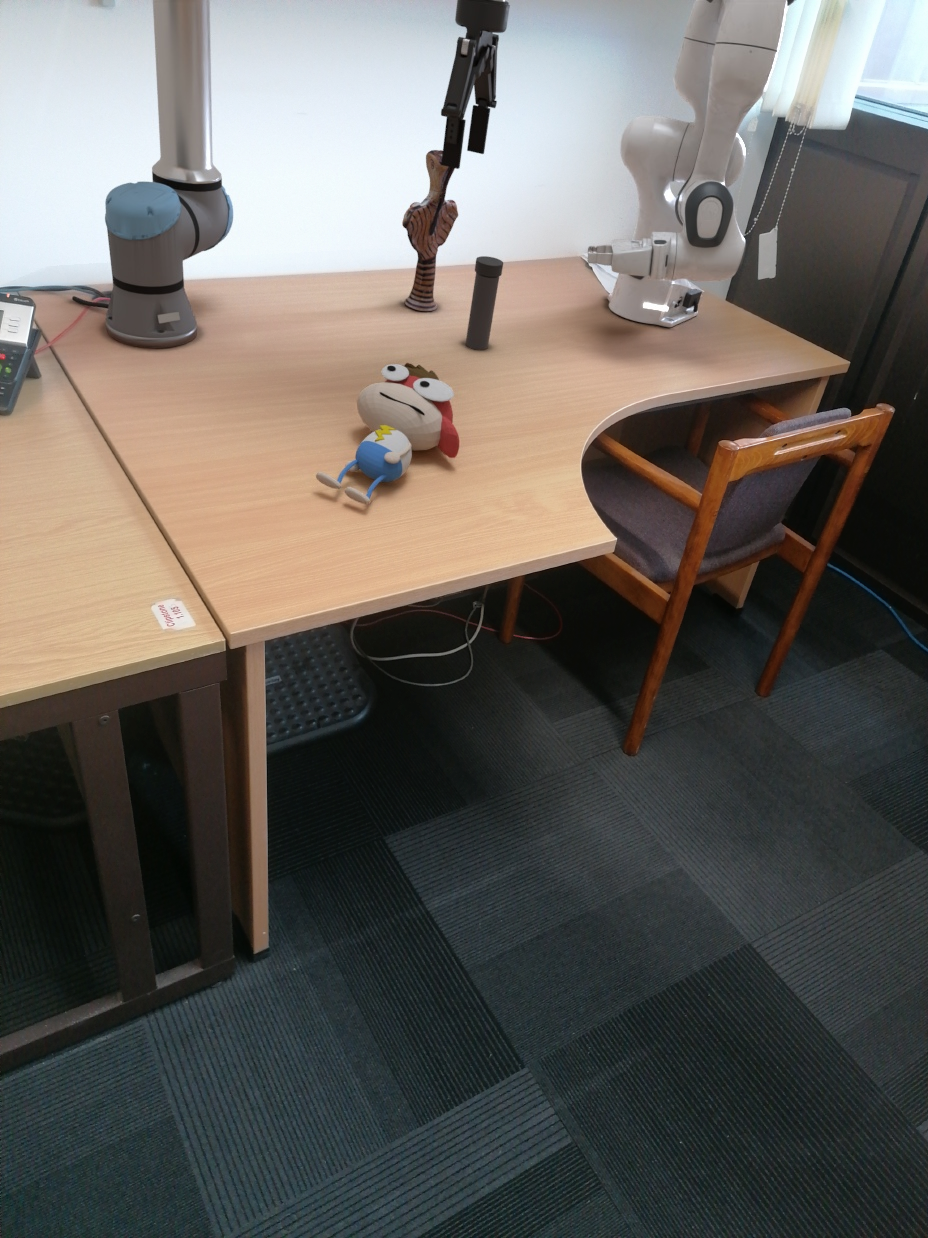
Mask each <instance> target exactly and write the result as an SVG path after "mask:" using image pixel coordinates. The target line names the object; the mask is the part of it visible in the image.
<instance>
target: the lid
mask: <svg viewBox="0 0 928 1238" xmlns="http://www.w3.org/2000/svg"><path fill="white" fill-rule="evenodd" d="M503 269H504V262H503V261H502V259H499V258H496V257H494V256H493V257H492V256H487V255H486V256H483V255H482V256H477V257H476V258H475V265H474V272H475V274H476V273H478V274H480V275H483V276H487V277H499V278H500V277H501V276H502V274H503Z"/></svg>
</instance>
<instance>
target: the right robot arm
mask: <svg viewBox="0 0 928 1238" xmlns="http://www.w3.org/2000/svg"><path fill="white" fill-rule="evenodd" d="M796 1H797V0H694V2H693V5H692V8H691V11H690V14H689V17H688V20H687V22H686V25H685V26H686V27H685V30H684V34H683V37H682V41H681V45H680V49H679V53H678V57H677V61H676V65H675V69H674V73H673V86H674V88H675V91H676V92H677V94H678V95H679V96H680V97H681V98H682V99H683V101H685V102H686V103H688V105H690V106H691V108H692V110H693V113H694V120H693V121H692V122H691V121H690V122H688V121H684V120H680V119H676V118H675V119H674V118H670V117H667V116H662V115H637V116H635V117H634V118H632V120H631V121H630V122H629V123H627V125H626V127H625V128H624V130H623V133H622V135H621V138H620V143H619V153H620V158H621V161H622V163H623V165H624V166H625V168H626V169H627V170H628V171H629V173H630V175H631V178H632V179H633V181H634V184H635V187H636V191H637V196H638V210H637V216H636V222H635V227H634V232H633V236H632V239H626V238H613V239H611V241H610V244H601V245H589V246H588V247H587V263H588V264H594V265H595V264H596V265H601V266H607V267H608V266H610V267H611V271H612V272H613V273H616V274H618V275H617V278H616V280H615V283H614V286H613V290H612V292H611V293H608V296H607V300H608V309H610V311H611V312H613V314H616V315H618V316H620V317H622V318H625V319H627V320H630V321H634V322H637V323H642V324H649V325H657V326H661V327H665V328H672V327H675V326H677V325H679V324H682V323H684V322H685V321H688V320H690V319H692V318H695V317H696V316H698V313H699V311H698V309H699V303H700V300H701V297H702V293H703V291H702V290H701V289H698V288H693V286H692V285H691V283H690V282H689V281H691V282H721V281H725V280H726V281H727V280H729V279H731V278H733V277H734V276H735V275H736V274H737V273H738V272H739V269H740V268H741V265H742V264H743V260H744V257H745V254H746V248H747V243H746V239H745V237H744V236H743V234H742V232H741V230H740V227H739V224H738V220H737V216H736V210H735V201H734V197H733V194H732V192H731V190H730V189H729V187H731V186H732V185H733V184H734V183H735V182H736V181H737V180H738V178H740V175H741V174H742V172H743V170H744V167H745V164H746V157H747V153H746V147H745V143H744V141H743V139H742V138H741V136H740V135H739V133H738V131H739V129H740V126H741V124H742V122H743V121H744V119H745V117H746V116H747V114H748V113H749V112H750V110H752V108H753V107H754V105H756V103H757V102H758V101H759V100H760V99H761V98H762V96H763V95H764V93H765V91H766V88H767V86H768V84H769V81H770V78H771V76H772V73H773V70H774V68H775V65H776V61H777V58H778V54H779V53H778V52H779V50H780V46H781V41H782V37H783V32H784V26H785V22H786V14H787V7H788V6H789V7H790V6H791V5H792V4H794V3H795V2H796ZM671 182H676V183H680V184H683V185H682V186H681V188H680V190H679V192H678V193H677V196H676V197H675V195H674V194H673V192H672V189H671Z"/></svg>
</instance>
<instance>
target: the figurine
mask: <svg viewBox="0 0 928 1238" xmlns="http://www.w3.org/2000/svg"><path fill="white" fill-rule="evenodd" d="M442 154H443V149H432V150H429V151H428V152H427V153H426V155H425V166H426V170H427V173H428V178H429V190H428V194H427V196H426V197H425V198H424V199H423V200H422V201H421V202H419V201H414V202H412V203H410V205H409V207H408V209H406V211H405V212H404V214H403V217H402V224H401V225H402V227H403V228H404V229H405V230H406V233H407V238H408V241H409V243H410V246H411V247H412V248H413V249H414V251H415V252H416V253H417V261H416V265H415V266H416V267H415V275H414V279H413V285H412V287H411V291H410V293H409V295H408V297H406V299H405V300H404V301H403V302H404V304H405V305H406V306H407V307H408V308H411V309H413V310H416V311H420V312H421V311H422V312H431V311H434V310H437V308H438V305H437V303H436V301H435V299H434V288H435V280H436V267H437V254H438V251H439V247H441V246H443V245H444V244H445V243H446V241H447V239H448V238H449V235H450V233H451V231H452V229H453V227H454V224H455V221H456V220H457V218H458V217H459V211H458V205H457V203H456V201H455V200H454V199H447V200H446V194H447V189H448V185H449V182H450V180H451V178H452V176H453V174H454V172H455V169H456V168H452V167H447V166H443V165H441V163H442Z"/></svg>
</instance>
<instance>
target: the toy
mask: <svg viewBox="0 0 928 1238" xmlns="http://www.w3.org/2000/svg"><path fill="white" fill-rule="evenodd" d="M380 371H381V372H380V373H381V376H382V377H383V378H384V379H385V381H381V382H374V383H371V384H369V385H368V386H366V387H365V388H363V389H362V390H361V391H360V393H359V395H358V397H357V399H356V404H357V406H356V407H357V412H358V414H359V417H360V418H361V420H362V422H363V424H365V426H366V427H367V428H368V429H369V430H370V431H371V433H369V434H368V435H367V436H365V438H364V439H362V441H361V442H360V443H359V445H358V447H357V449H356V451H355V457H354V459H353V460H348V461H347V462H345V464H344V465H345V466H344V468H343V469H342V470H341V472H340V473H339V475H338V477H337V479H336V478H334V477H333V476H331V475H330V474H327V473H325V472H322V471H318V472H316V474H315V478H316V480H317V482H318V483H319V482H320V483H321V484H322V485H324V486H326V487H328V488H331V489H334V490H339V489H341V488H342V482H343V479H344V477H345V475H346V474H347V473H348V472H350V473H356V472H358V471H360V472H362V474H364V475H365V476H366V477H368V478H369V479H372V480H374V481H373V482H372V483H371V485H370V486H369V488H368V489H367V492H366V494H365V493H363V492H362V491H360V490H359V489H356V488H354V487H352V486H347V487H345V489H344V493H345V494H344V495H346V496H347V497H348V498H350V499H351V500H353V501H354V502H357V503H360V504H364V505H369V504H371V496H372V494H373V491H374V490H375V488H376V487H377V486H378V485H379V483H389V482H391V483H392V482H394V481H396V480H399V479H400V478H401V477H402V476H403V475H405V473H406V472H407V471H408V469H409V468H410V467H409V466H410V464H411V461H412V457H413V451H428V450H431V449H433V448H434V447H438V448H439V450H440V451H441V452H442V453H443V454H444V455H445V456H446V457H448V458H450V459H455V458H456V457H457V456H458V454H459V449H460V437H459V433H458V430H457V428H456V427H455V425H454V423H453V422H454V421H453V420H454V412H453V407H452V404H451V403H452V402H451V400H452V399H453V398H454V397H455V392H454V390H453V388H452V387H451V386H450V385H448V384H447V383H446V382H444V381H442V380H440V378H439V376H438V375H437V373H436V372H435V371H434V370H433V369H430V370H429V371H428V370H427V369H426V368H424V367H423V366H422V365H421V364H417V365H416V366H415V365H413V363H409V362H406V363H405V364H404V365H403V364H398V363H391V364H386V365H385V366H384V367H382V369H381V370H380Z"/></svg>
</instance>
